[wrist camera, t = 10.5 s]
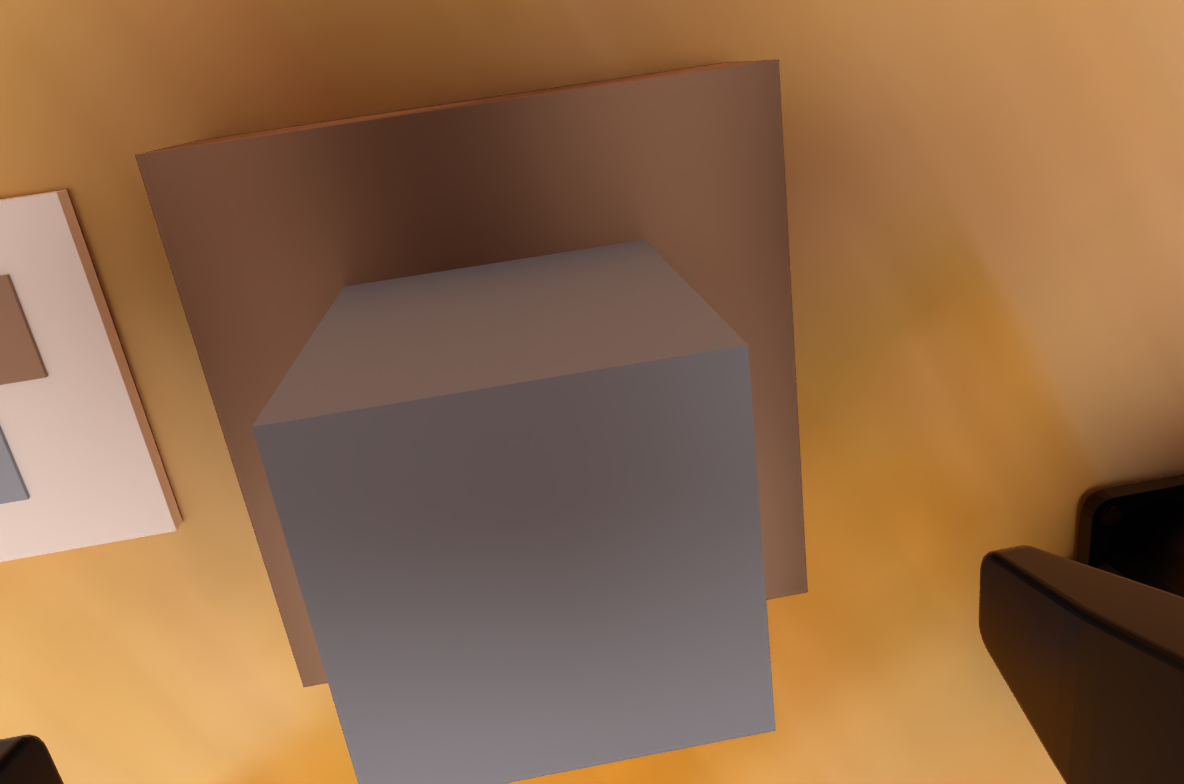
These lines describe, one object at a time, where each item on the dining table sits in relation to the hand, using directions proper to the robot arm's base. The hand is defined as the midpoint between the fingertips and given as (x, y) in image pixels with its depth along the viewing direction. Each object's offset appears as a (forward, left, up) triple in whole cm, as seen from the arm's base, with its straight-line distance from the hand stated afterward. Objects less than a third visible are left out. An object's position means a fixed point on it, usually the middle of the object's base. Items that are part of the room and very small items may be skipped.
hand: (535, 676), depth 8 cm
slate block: (0, 0, -7) cm, 7 cm away
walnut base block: (0, 0, -10) cm, 10 cm away
